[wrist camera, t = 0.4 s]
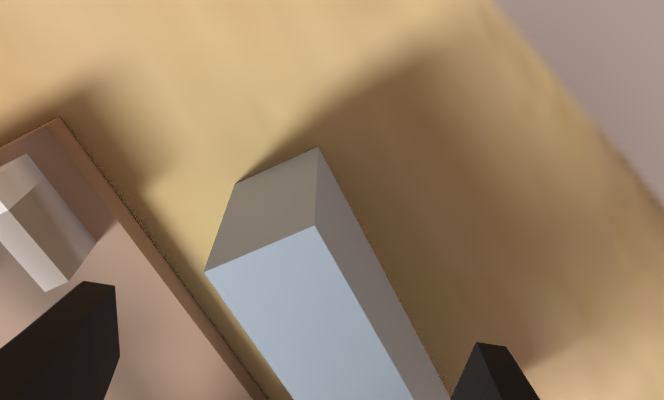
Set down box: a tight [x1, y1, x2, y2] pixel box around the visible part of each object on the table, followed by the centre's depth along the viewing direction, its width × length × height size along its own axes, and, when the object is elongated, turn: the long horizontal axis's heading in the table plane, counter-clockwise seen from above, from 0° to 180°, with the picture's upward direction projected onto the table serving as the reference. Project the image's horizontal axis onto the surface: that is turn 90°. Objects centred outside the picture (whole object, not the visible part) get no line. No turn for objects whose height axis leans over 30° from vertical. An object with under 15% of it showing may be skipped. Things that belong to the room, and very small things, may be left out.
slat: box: [203, 146, 451, 400], centre depth 21 cm, size 4×15×6 cm, turn 26°
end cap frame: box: [0, 117, 268, 400], centre depth 23 cm, size 10×20×4 cm, turn 26°
